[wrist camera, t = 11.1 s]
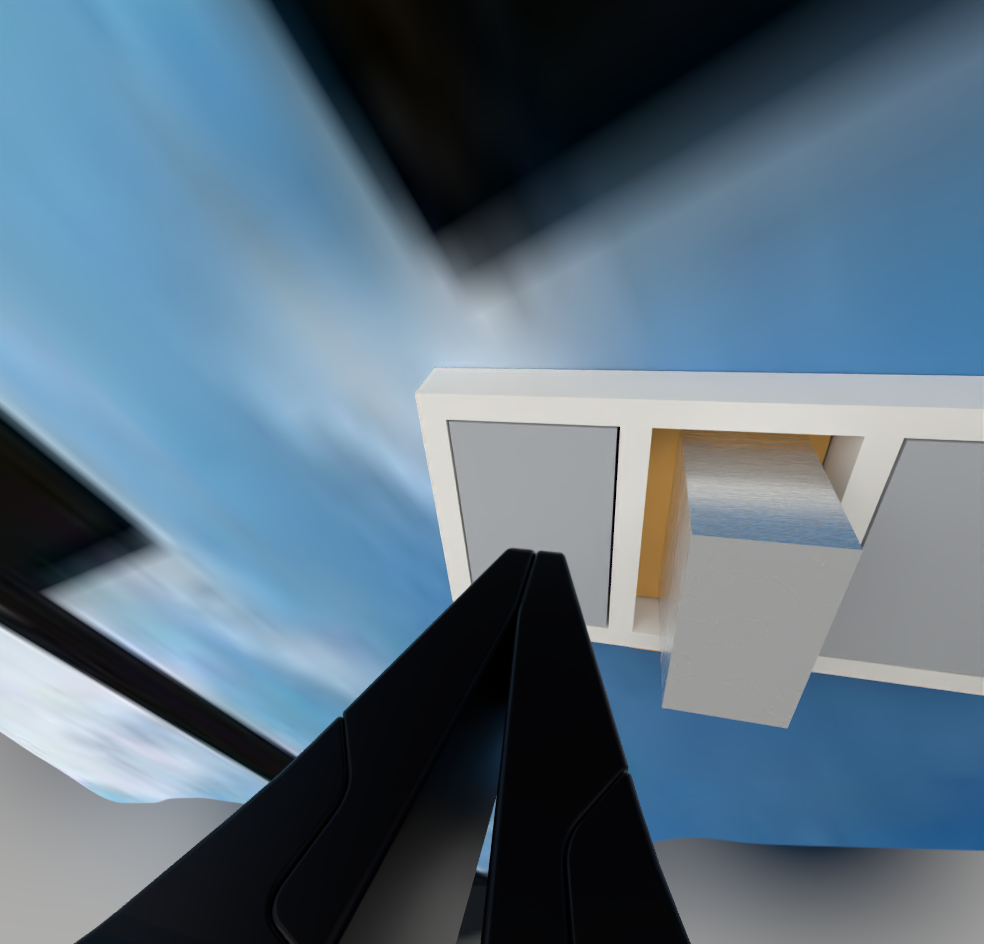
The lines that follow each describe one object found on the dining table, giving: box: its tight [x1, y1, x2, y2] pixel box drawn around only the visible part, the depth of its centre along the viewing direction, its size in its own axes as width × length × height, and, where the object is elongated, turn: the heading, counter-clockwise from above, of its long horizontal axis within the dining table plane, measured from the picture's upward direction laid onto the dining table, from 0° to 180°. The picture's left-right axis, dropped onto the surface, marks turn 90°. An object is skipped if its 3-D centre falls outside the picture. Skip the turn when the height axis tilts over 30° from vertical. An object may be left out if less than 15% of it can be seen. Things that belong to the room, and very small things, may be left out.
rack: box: [415, 368, 984, 696], centre depth 20 cm, size 22×12×2 cm, turn 95°
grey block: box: [659, 429, 863, 728], centre depth 18 cm, size 4×8×6 cm, turn 4°
